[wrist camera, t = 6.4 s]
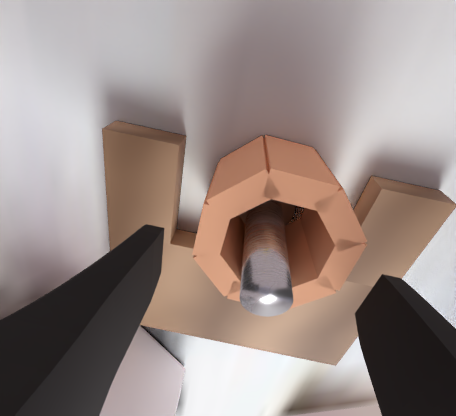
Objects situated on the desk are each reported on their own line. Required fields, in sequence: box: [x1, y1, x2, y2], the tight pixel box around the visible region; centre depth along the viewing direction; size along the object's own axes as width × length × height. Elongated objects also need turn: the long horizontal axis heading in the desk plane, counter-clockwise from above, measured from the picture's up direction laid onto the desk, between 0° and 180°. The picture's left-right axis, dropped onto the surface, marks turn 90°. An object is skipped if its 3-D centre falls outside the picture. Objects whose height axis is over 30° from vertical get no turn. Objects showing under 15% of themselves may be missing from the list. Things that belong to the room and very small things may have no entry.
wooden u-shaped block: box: [102, 121, 456, 366], centre depth 14 cm, size 14×12×1 cm
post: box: [239, 199, 295, 317], centre depth 11 cm, size 3×3×6 cm
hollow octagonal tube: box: [192, 135, 367, 309], centre depth 11 cm, size 5×5×4 cm
